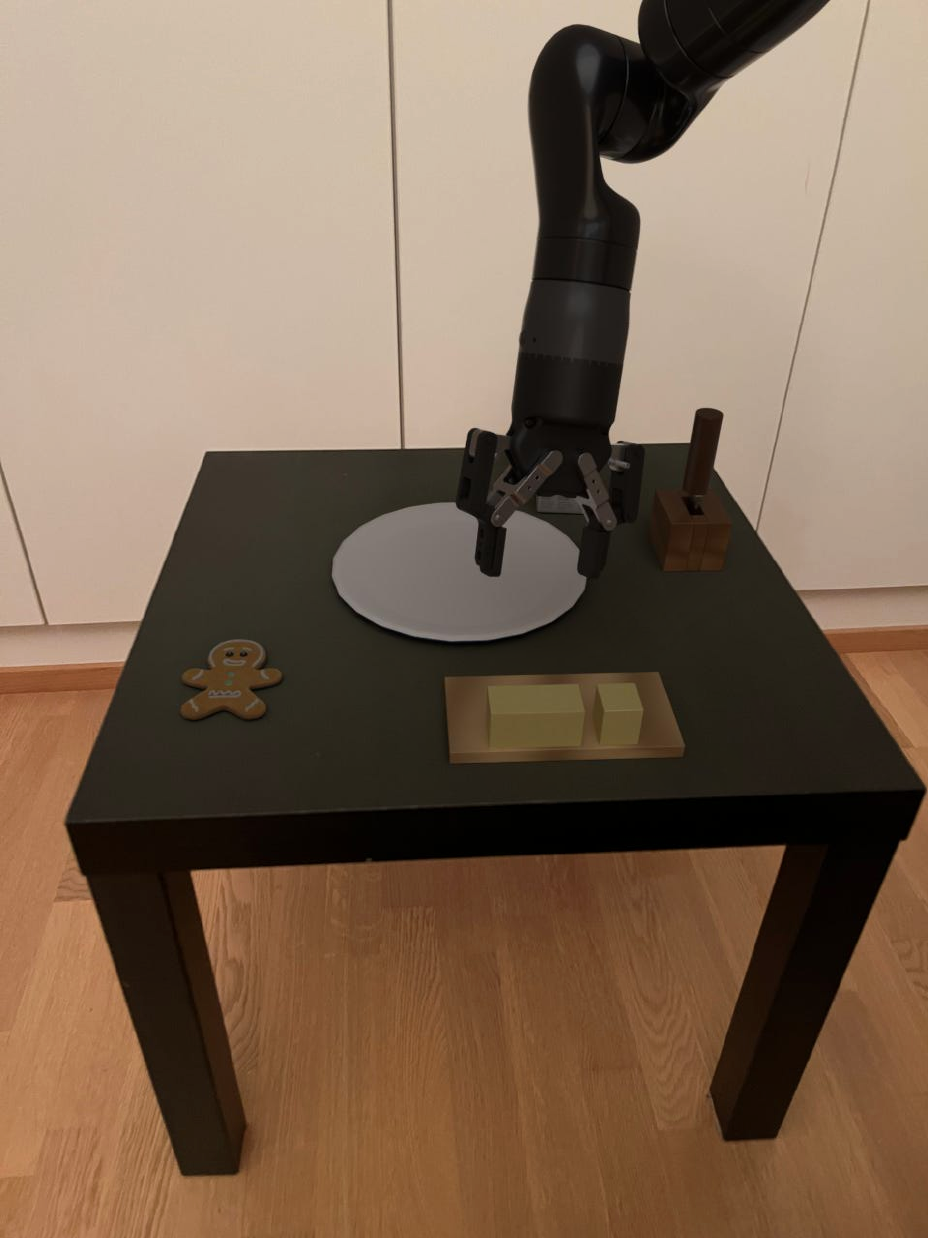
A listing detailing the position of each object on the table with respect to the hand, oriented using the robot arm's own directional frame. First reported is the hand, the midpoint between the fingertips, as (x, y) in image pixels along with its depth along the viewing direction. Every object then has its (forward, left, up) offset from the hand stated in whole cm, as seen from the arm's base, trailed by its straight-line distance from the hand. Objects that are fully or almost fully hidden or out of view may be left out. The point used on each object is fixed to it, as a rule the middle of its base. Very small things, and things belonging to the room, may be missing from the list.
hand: (539, 575), depth 71 cm
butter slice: (-8, -2, -11) cm, 14 cm away
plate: (+19, -6, -12) cm, 23 cm away
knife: (+9, -27, -12) cm, 31 cm away
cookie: (+15, +20, -12) cm, 28 cm away
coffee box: (+26, -25, -12) cm, 38 cm away
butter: (-5, +3, -11) cm, 12 cm away
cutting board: (-4, 0, -12) cm, 13 cm away
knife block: (+9, -27, -12) cm, 31 cm away
